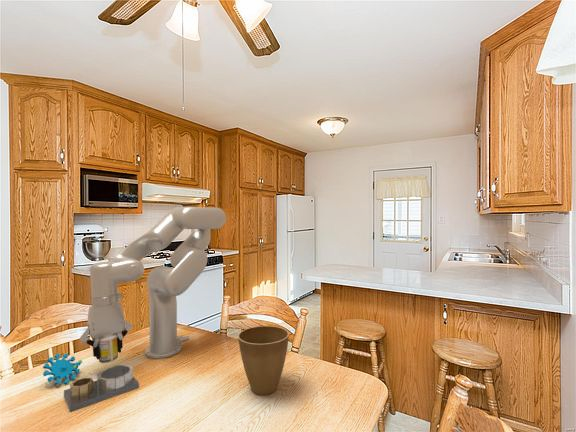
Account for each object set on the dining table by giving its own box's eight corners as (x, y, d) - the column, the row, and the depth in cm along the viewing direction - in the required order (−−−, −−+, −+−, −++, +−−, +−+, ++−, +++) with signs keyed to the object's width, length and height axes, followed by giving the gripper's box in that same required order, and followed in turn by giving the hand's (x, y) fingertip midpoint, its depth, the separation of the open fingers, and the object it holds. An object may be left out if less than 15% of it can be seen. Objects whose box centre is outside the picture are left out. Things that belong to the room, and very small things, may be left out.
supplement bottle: (115, 354, 109) (113, 324, 109) (120, 360, 105) (118, 329, 105) (97, 360, 106) (95, 329, 105) (101, 366, 101) (99, 334, 101)
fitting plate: (128, 375, 102) (128, 361, 102) (139, 387, 95) (138, 372, 95) (63, 395, 90) (63, 379, 90) (70, 411, 83) (69, 394, 83)
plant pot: (295, 379, 99) (295, 328, 99) (278, 407, 85) (278, 347, 85) (251, 372, 104) (251, 322, 104) (228, 396, 90) (228, 339, 90)
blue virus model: (50, 387, 92) (40, 356, 96) (40, 398, 93) (31, 368, 97) (88, 375, 102) (78, 348, 106) (79, 386, 103) (69, 358, 107)
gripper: (129, 292, 113) (132, 342, 114) (71, 304, 102) (75, 360, 102) (136, 296, 108) (139, 349, 108) (76, 309, 96) (79, 368, 97)
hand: (108, 354), depth 105 cm, fingers closed on supplement bottle, 5 cm apart
